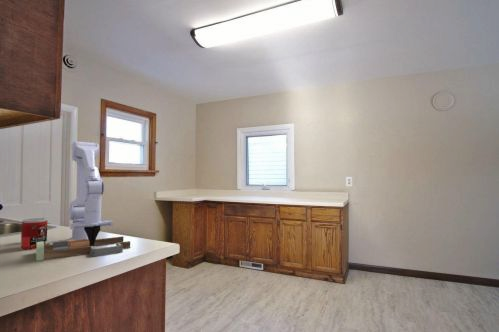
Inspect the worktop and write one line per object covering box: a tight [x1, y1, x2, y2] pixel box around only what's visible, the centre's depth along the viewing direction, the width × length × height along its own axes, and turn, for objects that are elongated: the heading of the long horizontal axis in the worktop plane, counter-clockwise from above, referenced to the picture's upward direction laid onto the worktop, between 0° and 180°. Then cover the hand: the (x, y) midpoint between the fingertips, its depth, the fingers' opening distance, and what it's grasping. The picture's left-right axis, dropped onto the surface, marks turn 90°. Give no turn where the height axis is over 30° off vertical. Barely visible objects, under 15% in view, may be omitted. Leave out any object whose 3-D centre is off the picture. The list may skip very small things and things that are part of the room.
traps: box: [48, 239, 124, 257], centre depth 107 cm, size 22×22×2 cm
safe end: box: [35, 241, 45, 262], centre depth 98 cm, size 12×2×4 cm, turn 38°
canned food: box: [20, 217, 47, 251], centre depth 110 cm, size 8×8×11 cm
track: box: [43, 236, 131, 261], centre depth 107 cm, size 12×28×2 cm, turn 128°
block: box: [68, 239, 90, 249], centre depth 105 cm, size 6×6×4 cm
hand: (91, 245), depth 108 cm, fingers closed
